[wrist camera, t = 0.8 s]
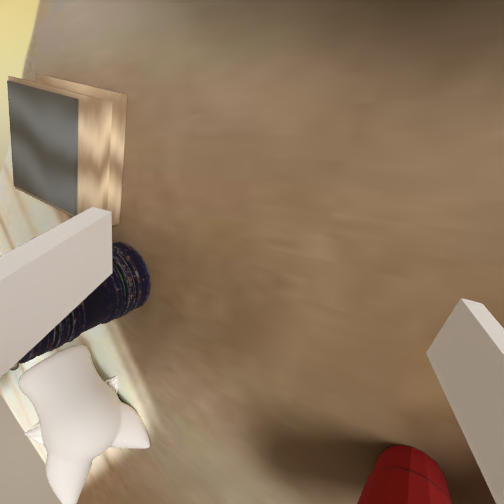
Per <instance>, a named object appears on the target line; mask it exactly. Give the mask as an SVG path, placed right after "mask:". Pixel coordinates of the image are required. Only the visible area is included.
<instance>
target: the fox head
mask: <svg viewBox="0 0 504 504" xmlns="http://www.w3.org/2000/svg"><path fill="white" fill-rule="evenodd" d="M18 385H19V388H20V389H21V391H22V392H23V393H24V394H25V395H26V396H27V397H28V398H29V400H30V401H31V403H32V404H33V406H34V408H35V410H36V412H37V414H38V417H39V422H38V423H37V424H36V425H34V426H33V429H31V430H29V431H28V432H26V433H25V434H24V435H28V436H29V437H31V438H33V439H34V440H35V441H37V442H39V443H43V445H44V447H45V448H46V449H47V461H46V473H47V478H48V481H49V484H50V486H51V488H52V489H53V491H54V493H55V494H56V496H57V497H58V498H59V500H60V501H61V502H62V504H76V503H77V501H78V498H79V496H80V493H81V491H82V488H83V486H84V483H85V481H86V478H87V476H88V473H89V471H90V468H91V464H92V460H93V459H94V458H95V457H97V456H99V455H100V454H101V453H103V452H104V451H105V450H106V449H107V448H108V447H114V448H149V447H150V442H149V437H148V434H147V431H146V429H145V426H144V424H143V422H142V420H141V418H140V416H139V415H138V413H137V412H136V411H135V410H134V409H133V408H132V407H130V406H128V405H126V404H124V403H122V402H121V401H120V400H119V398H118V396H117V390H118V385H117V376H115V377H113V378H112V379H111V380H110V379H108V380H106V381H103V380H102V379H101V377H100V376H99V374H98V373H97V371H96V369H95V367H94V365H93V362H92V358H91V354H90V351H89V349H88V348H87V347H86V346H85V345H75V346H72V347H69V348H66V349H64V350H62V351H60V352H58V353H55V354H53V355H51V356H49V357H48V358H46V359H44V360H42V361H41V362H39V363H37V364H36V365H34V366H32V367H31V368H30V369H28V370H27V371H26V372H25V373H23V374H22V376H21V377H20V379H19V381H18Z"/></svg>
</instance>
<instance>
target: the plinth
mask: <svg viewBox="0 0 504 504" xmlns="http://www.w3.org/2000/svg"><path fill="white" fill-rule="evenodd" d="M36 81H37V82H34V81H29V80H25V79H19V78H15V77H10V76H9V81H7V84H8V100H9V116H10V132H11V147H12V163H13V179H14V186H15V188H16V189H18V190H20V191H22V192H24V193H26V194H28V195H30V196H32V197H34V198H36V199H38V200H40V201H42V202H44V203H46V204H48V205H50V206H52V207H54V208H56V209H58V210H60V211H62V212H64V213H66V214H68V215H70V216H72V217H74V216H76V215H78V214H80V213H82V212H84V211H85V210H87V209H89V208H91V207H95V208H99V209H103V210H107V211H111V212H112V225H118V224H119V223H120V207H121V191H122V176H123V160H124V144H125V129H126V113H127V97H128V95H125V94H121V93H117V92H112V91H108V90H104V89H100V88H95V87H91V86H87V85H83V84H78V83H74V82H70V81H66V80H61V79H57V78H53V77H49V76H44V75H40V74H36Z"/></svg>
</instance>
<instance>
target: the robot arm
mask: <svg viewBox="0 0 504 504" xmlns="http://www.w3.org/2000/svg"><path fill="white" fill-rule="evenodd" d="M111 274H112V212H111V211H107V210H103V209H99V208H95V207H91V208H89V209H87V210H85V211H84V212H82V213H80V214H78V215H76V216H74V217H72V218H71V219H69V220H67V221H65V222H63V223H61V224H59V225H58V226H56V227H54V228H52V229H50V230H48V231H46V232H45V233H43V234H41V235H39V236H37V237H35V238H34V239H32V240H30V241H28V242H26V243H24V244H22V245H21V246H19V247H17V248H15V249H13V250H11V251H9V252H8V253H6V254H4V255H2V256H0V378H1V377H2V376H3V375H4V374H5V373H6V372H8V371H9V370H10V369H11V368H12V367H13V366H14V365H15V364H16V363H17V362H18V361H19V360H20V359H21V358H22V357H24V356H25V355H26V354H27V353H28V352H29V351H30V350H31V349H32V348H33V347H34V346H35V345H36V344H37V343H38V342H39V341H41V340H42V339H43V338H44V337H45V336H46V335H47V334H48V333H49V332H50V331H51V330H52V329H53V328H54V327H55V326H56V325H58V324H59V323H60V322H61V321H62V320H63V319H64V318H65V317H66V316H67V315H68V314H69V313H70V312H71V311H72V310H74V309H75V308H76V307H77V306H78V305H79V304H80V303H81V302H82V301H83V300H84V299H85V298H86V297H87V296H88V295H89V294H91V293H92V292H93V291H94V290H95V289H96V288H97V287H98V286H99V285H100V284H101V283H102V282H103V281H104V280H105V279H106V278H108V277H109V276H110V275H111ZM426 354H427V356H428V359H429V361H430V363H431V365H432V367H433V369H434V371H435V374H436V376H437V378H438V380H439V382H440V384H441V387H442V389H443V391H444V393H445V395H446V397H447V399H448V402H449V404H450V406H451V408H452V410H453V412H454V414H455V417H456V419H457V421H458V423H459V425H460V427H461V429H462V432H463V434H464V436H465V438H466V440H467V442H468V445H469V447H470V449H471V451H472V453H473V455H474V457H475V460H476V462H477V464H478V466H479V468H480V470H481V472H482V475H483V477H484V479H485V481H486V483H487V485H488V487H489V490H490V492H491V494H492V496H493V498H494V500H495V503H496V504H504V329H503V328H502V326H501V325H500V324H499V323H498V322H497V320H496V319H495V318H494V317H493V316H492V315H491V313H490V312H489V311H488V310H487V309H486V307H485V306H484V305H483V304H482V303H478V302H474V301H470V300H466V299H462V298H461V299H460V300H459V302H458V303H457V305H456V307H455V308H454V310H453V311H452V313H451V314H450V316H449V318H448V319H447V321H446V322H445V324H444V325H443V327H442V329H441V330H440V332H439V333H438V335H437V336H436V338H435V340H434V341H433V343H432V344H431V346H430V347H429V349H428V351H427V352H426Z"/></svg>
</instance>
